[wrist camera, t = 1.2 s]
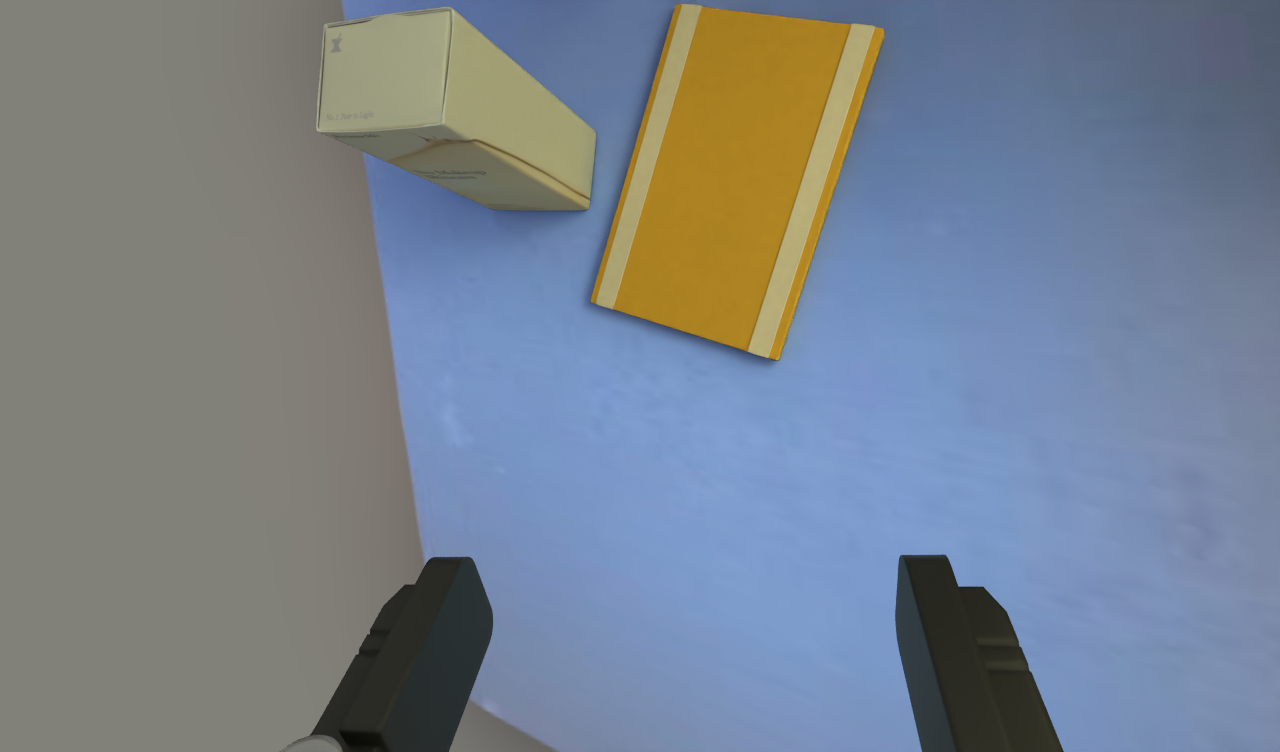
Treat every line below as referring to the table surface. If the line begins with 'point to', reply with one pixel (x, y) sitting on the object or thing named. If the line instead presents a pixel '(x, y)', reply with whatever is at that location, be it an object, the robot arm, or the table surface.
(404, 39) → the cosmetic box
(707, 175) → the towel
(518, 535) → the table surface
